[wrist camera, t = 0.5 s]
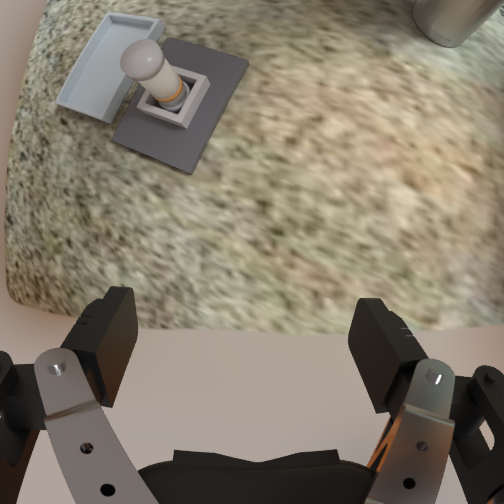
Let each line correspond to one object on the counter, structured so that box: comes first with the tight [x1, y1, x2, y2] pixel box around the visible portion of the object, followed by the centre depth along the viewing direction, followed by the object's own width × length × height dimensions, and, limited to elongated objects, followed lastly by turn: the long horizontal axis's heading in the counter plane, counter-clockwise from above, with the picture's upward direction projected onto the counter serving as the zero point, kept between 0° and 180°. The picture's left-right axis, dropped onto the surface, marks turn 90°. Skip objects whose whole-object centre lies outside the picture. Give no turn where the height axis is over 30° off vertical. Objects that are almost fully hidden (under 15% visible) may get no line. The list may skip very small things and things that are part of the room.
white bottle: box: [120, 39, 191, 113], centre depth 30 cm, size 4×4×12 cm
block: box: [112, 38, 249, 174], centre depth 35 cm, size 16×12×4 cm
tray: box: [55, 12, 166, 124], centre depth 36 cm, size 16×10×3 cm, turn 155°
